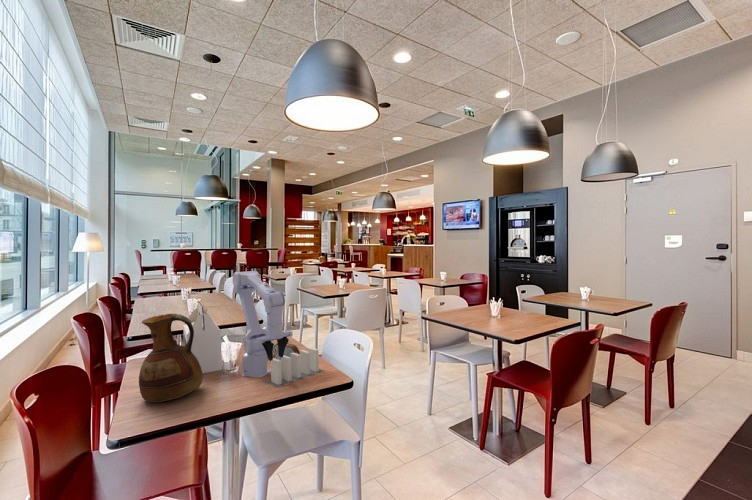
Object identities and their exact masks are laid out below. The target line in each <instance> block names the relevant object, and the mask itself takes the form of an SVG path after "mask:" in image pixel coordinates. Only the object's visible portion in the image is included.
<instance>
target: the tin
mask: <svg viewBox="0 0 752 500" xmlns="http://www.w3.org/2000/svg"><path fill="white" fill-rule="evenodd" d="M273 352H274V355H273V357H274V358H276V359H278V360H281V357H279V355H278V343H275V344H274V347H273ZM293 352H294V353H297V354H300V350H299V348H298V346H296V345H295V344H293V343H289V342H288V343H287V345H286V348H285V351H284V355H285V356H288V357H290V353H293Z"/></svg>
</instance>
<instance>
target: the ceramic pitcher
mask: <svg viewBox="0 0 752 500" xmlns="http://www.w3.org/2000/svg"><path fill="white" fill-rule="evenodd" d="M188 318H189V317H187V316H185V315H182V314H178V313H165V314H159V315H154V316H152V317H148V318H146V319H143V320H142V321H141V324H143V325H144V326H146V327H147V328H148V329H149V331H150V337H151V339H152V341H153V345H152V350H151V351H150V352H149V353H148V354H147V355H146V357H145V358H144V360H143V363H142V365H141V367H140V370H139V376H138V387H139V388H138V389H139V391H140V392H139V393H140V396H141V397H142V399H143V400H144V401H145V402H150V403H160V402H166V401H170V400H175V399H177V398H178V399H179V398H181V397H183V396H185V395H187V394H189V393H191V392H193V391H195V390H197V389H198V388H199V387H201V386H202V383H203V379H204V378H203V377H204V376H203V374H202V369H201V366H200V364H199V361H198V360H197V358H196V357H195V355H194V354H193V353H192V352H191V347H192V342H193V336H194V329H193V326H192V323H191V321H190V320H189V319H188ZM175 321H179V322H183V323H184V324H185V323H186V324H187V326H188V328H189V331H190V337H189V340H188V343H187V344H186V345H185V346H184V345H182V344H181V345H180V344H178V343H177V342H176V341H175V339H174V337H173V333H172V332H173V331H172V324H173V322H175Z"/></svg>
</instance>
